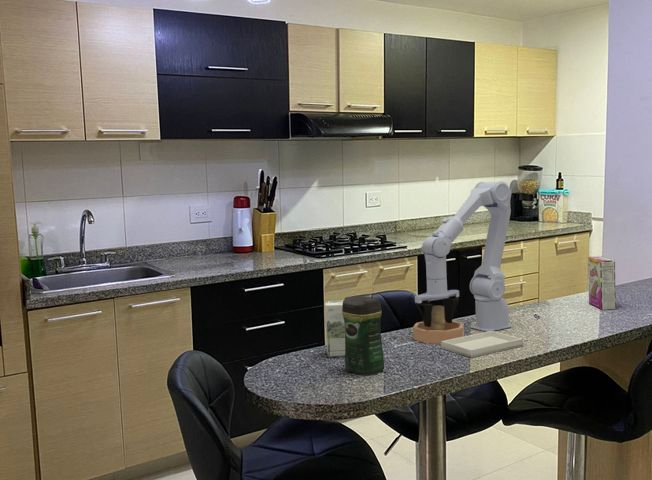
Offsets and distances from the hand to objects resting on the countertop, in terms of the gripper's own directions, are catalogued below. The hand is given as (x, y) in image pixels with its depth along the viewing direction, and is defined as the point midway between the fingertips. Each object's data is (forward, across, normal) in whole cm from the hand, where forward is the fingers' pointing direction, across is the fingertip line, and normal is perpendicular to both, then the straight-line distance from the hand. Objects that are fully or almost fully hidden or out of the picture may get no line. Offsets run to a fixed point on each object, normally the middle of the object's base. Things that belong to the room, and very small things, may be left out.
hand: (438, 324), depth 187 cm
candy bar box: (+4, -66, +3) cm, 66 cm away
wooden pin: (+4, 0, 0) cm, 4 cm away
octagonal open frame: (+4, 0, 0) cm, 4 cm away
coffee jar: (+4, +34, +14) cm, 37 cm away
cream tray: (+4, -2, +16) cm, 17 cm away
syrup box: (+4, +32, -3) cm, 32 cm away
